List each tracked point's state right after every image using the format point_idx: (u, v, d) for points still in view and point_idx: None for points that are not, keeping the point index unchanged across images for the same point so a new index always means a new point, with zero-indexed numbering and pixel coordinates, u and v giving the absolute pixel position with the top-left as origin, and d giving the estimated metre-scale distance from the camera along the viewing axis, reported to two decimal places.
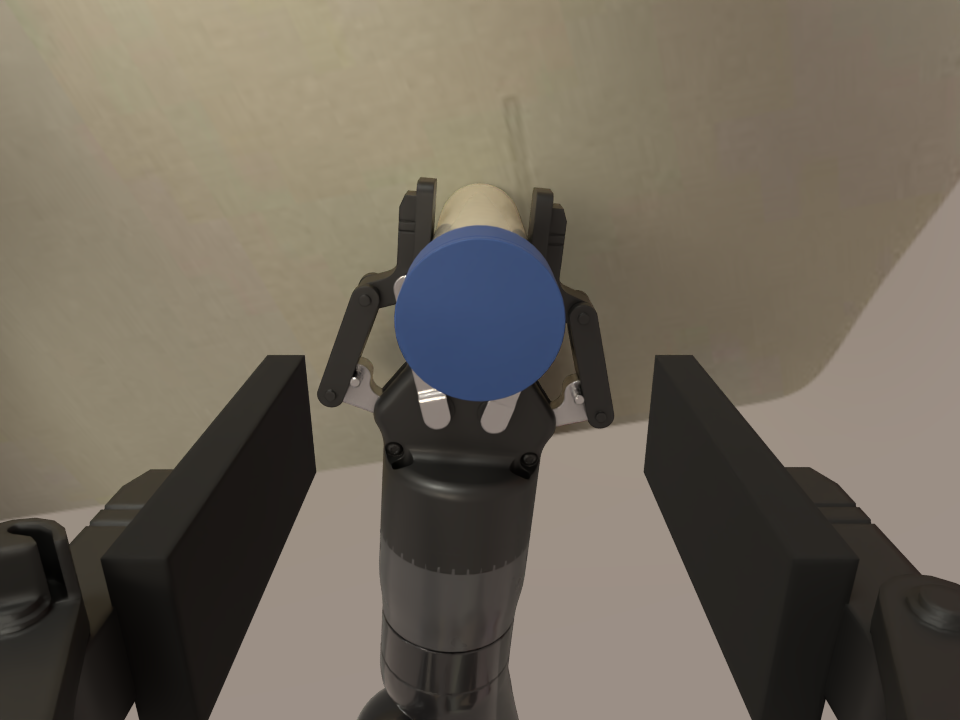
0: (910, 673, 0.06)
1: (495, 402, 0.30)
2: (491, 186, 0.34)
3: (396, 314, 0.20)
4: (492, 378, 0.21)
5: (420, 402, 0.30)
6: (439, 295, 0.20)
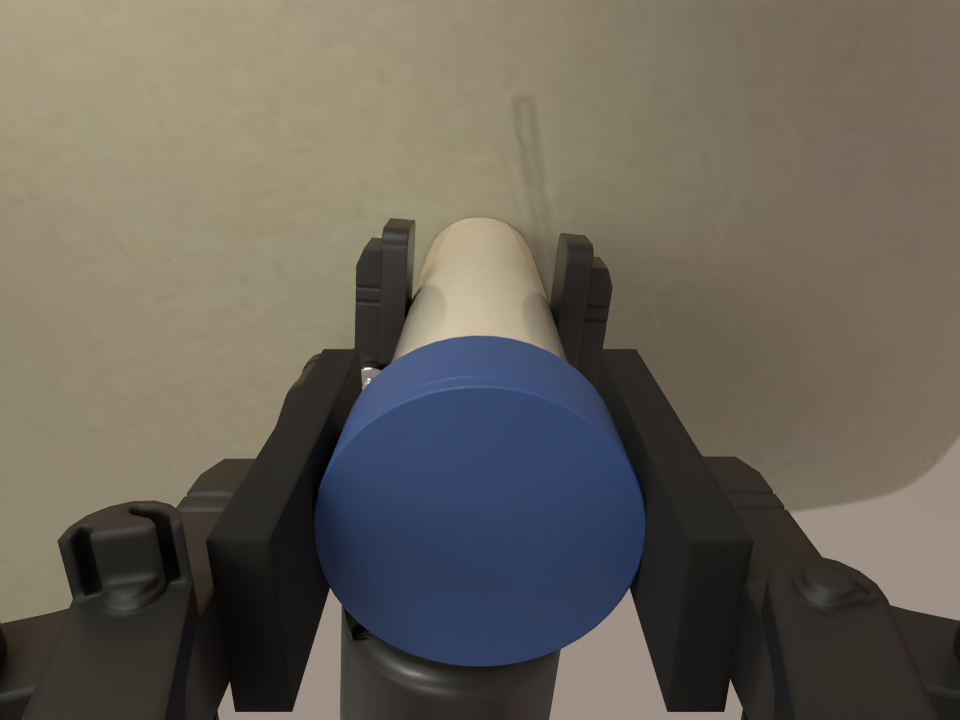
0: (795, 653, 0.07)
1: None
2: (496, 222, 0.25)
3: (316, 522, 0.10)
4: (503, 630, 0.11)
5: None
6: (399, 489, 0.10)
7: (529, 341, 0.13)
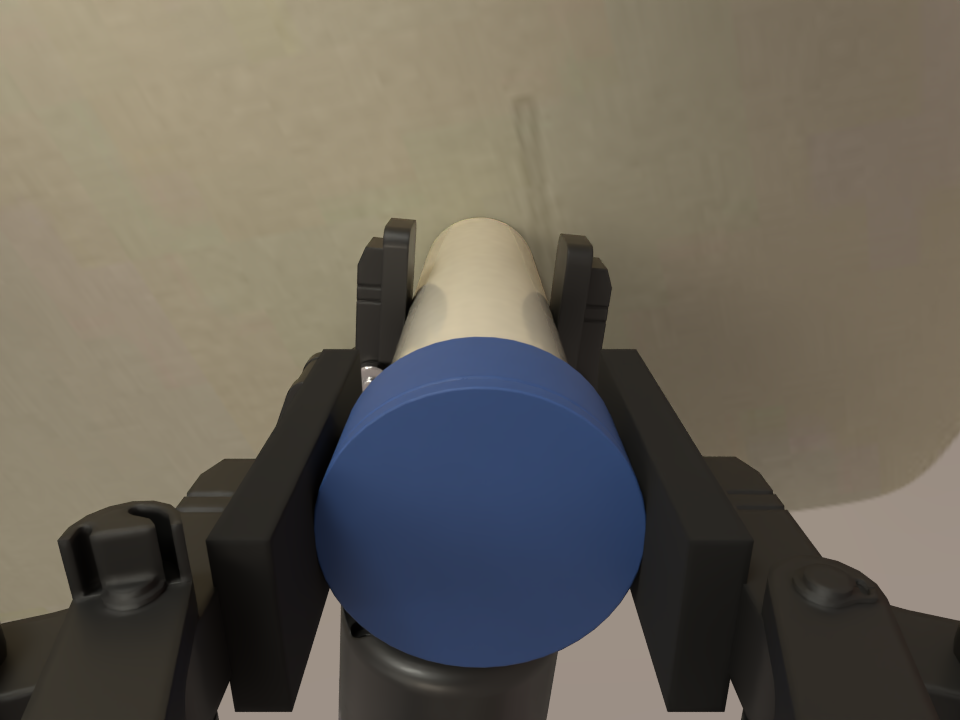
0: (795, 652, 0.07)
1: None
2: (496, 222, 0.25)
3: (520, 660, 0.11)
4: (580, 483, 0.10)
5: None
6: (457, 614, 0.11)
7: (529, 340, 0.13)
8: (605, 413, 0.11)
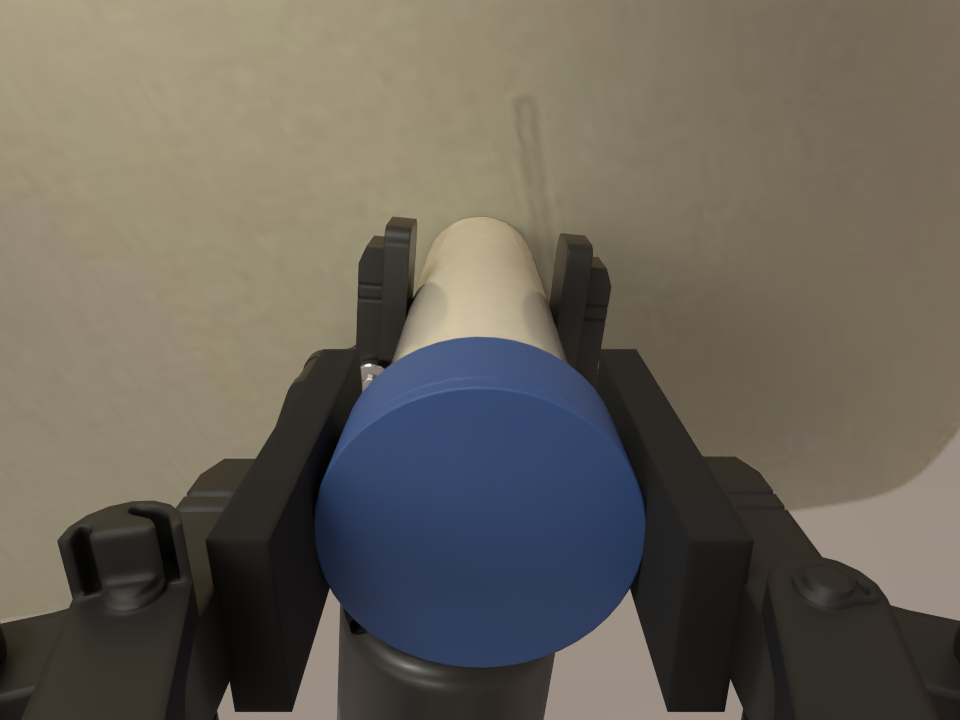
0: (795, 652, 0.07)
1: None
2: (496, 221, 0.25)
3: (615, 451, 0.10)
4: (378, 484, 0.10)
5: None
6: (575, 529, 0.10)
7: (529, 338, 0.13)
8: (346, 425, 0.11)
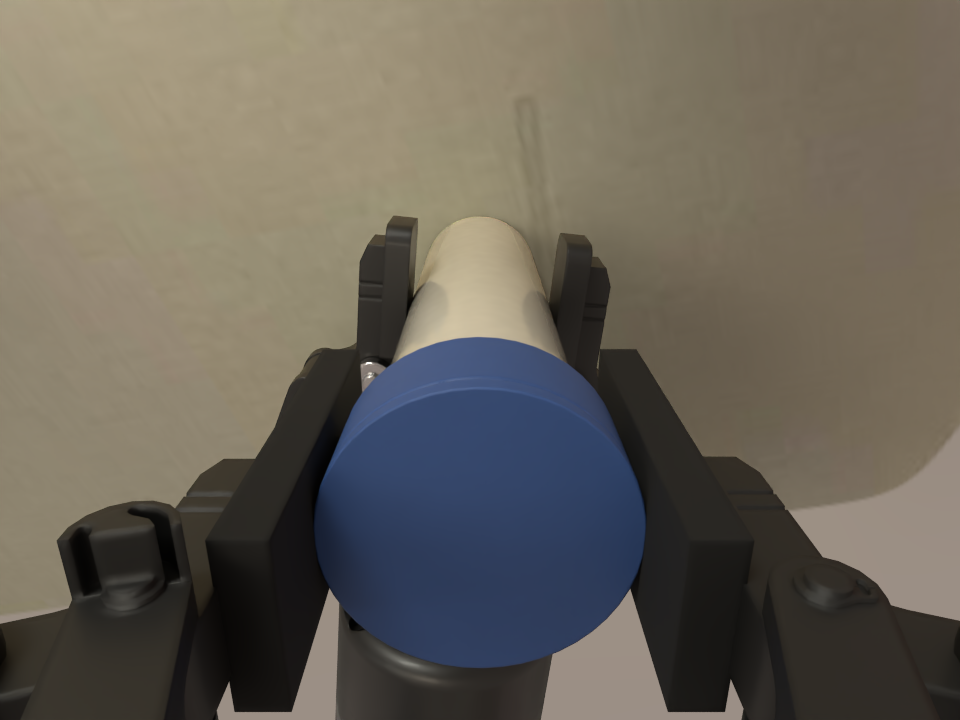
0: (795, 652, 0.07)
1: None
2: (496, 221, 0.25)
3: (333, 467, 0.10)
4: (457, 632, 0.11)
5: None
6: (430, 467, 0.10)
7: (529, 336, 0.13)
8: None
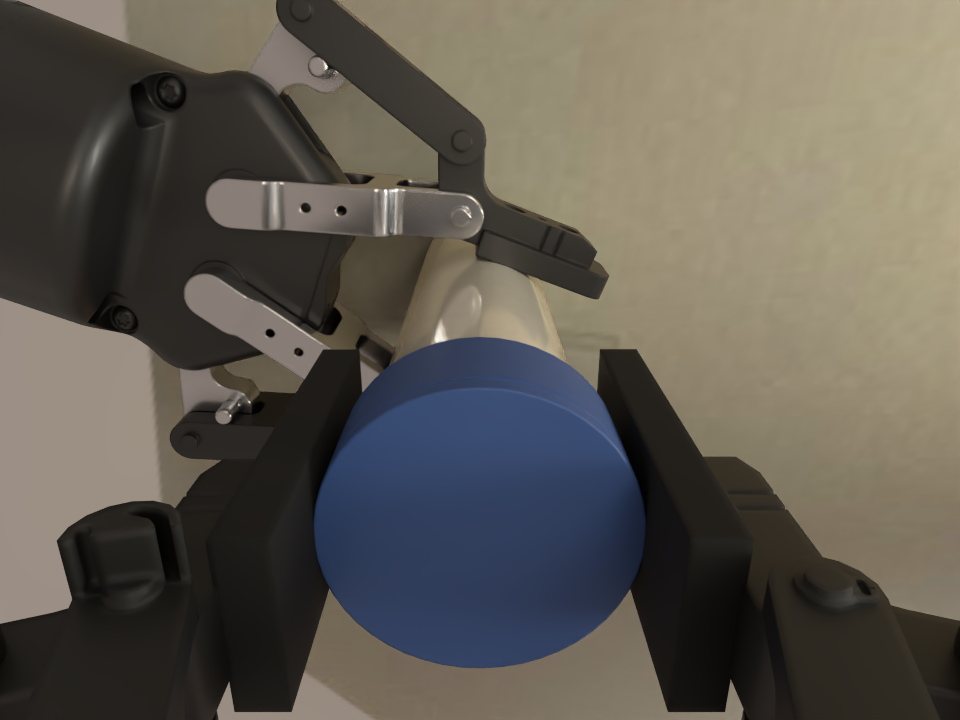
0: (795, 652, 0.07)
1: (242, 306, 0.18)
2: None
3: (333, 466, 0.10)
4: (456, 632, 0.11)
5: (262, 183, 0.17)
6: (430, 467, 0.10)
7: None
8: None
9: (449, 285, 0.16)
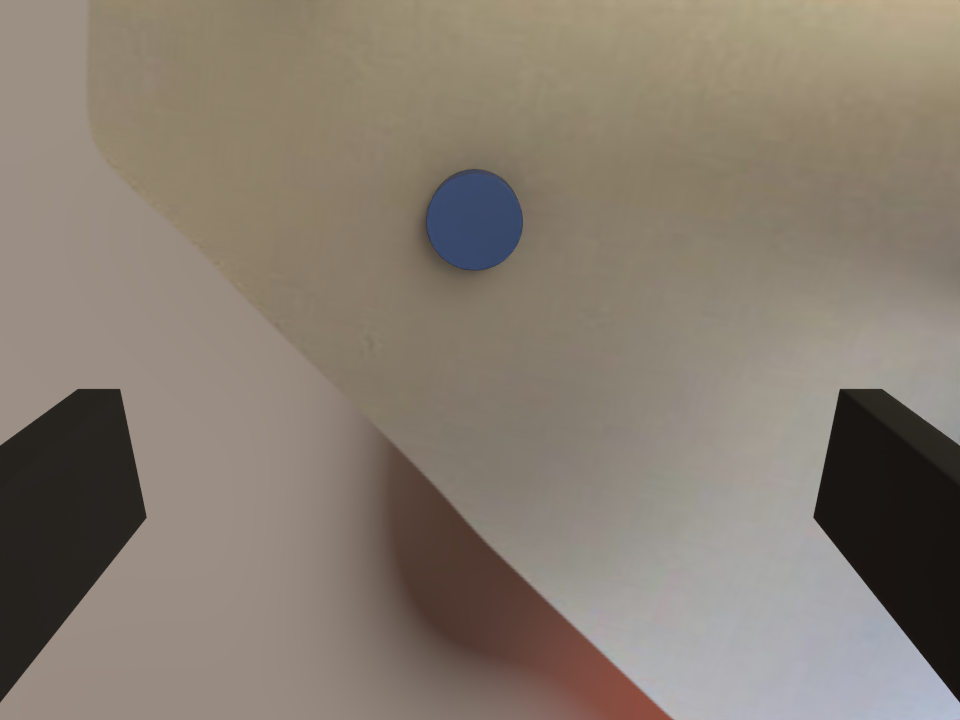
0: None
1: None
2: None
3: (433, 198, 0.35)
4: (467, 256, 0.36)
5: None
6: (460, 198, 0.35)
7: None
8: None
9: None
